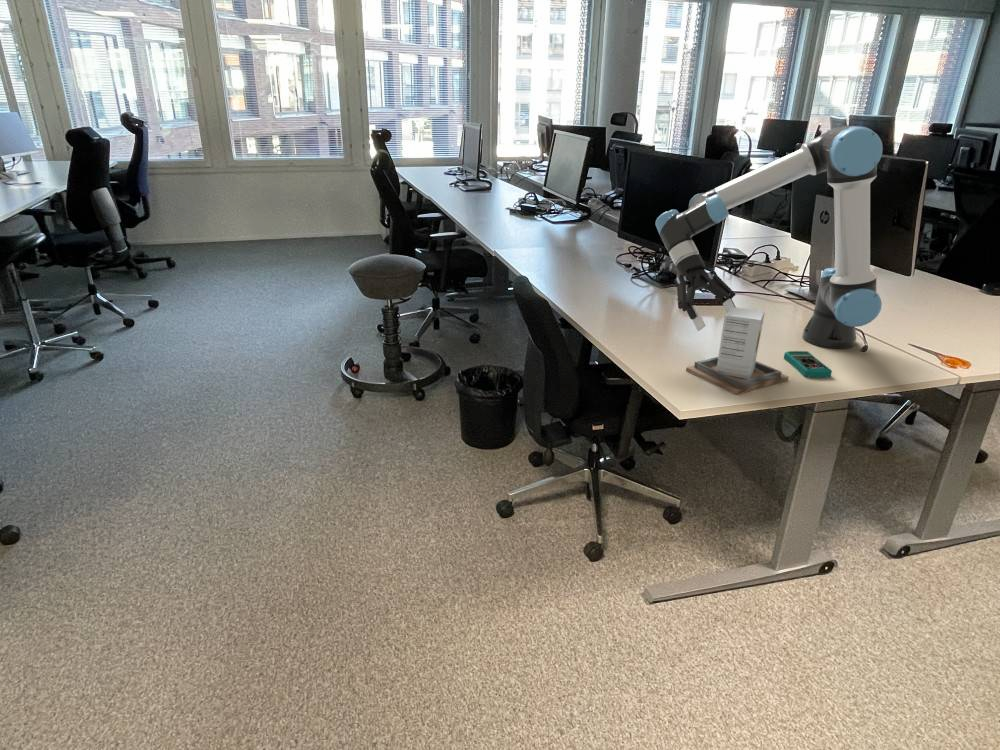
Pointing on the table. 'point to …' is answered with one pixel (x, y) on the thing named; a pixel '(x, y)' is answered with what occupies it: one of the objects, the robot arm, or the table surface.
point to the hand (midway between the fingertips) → (719, 324)
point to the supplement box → (740, 342)
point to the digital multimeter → (807, 364)
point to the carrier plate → (737, 385)
